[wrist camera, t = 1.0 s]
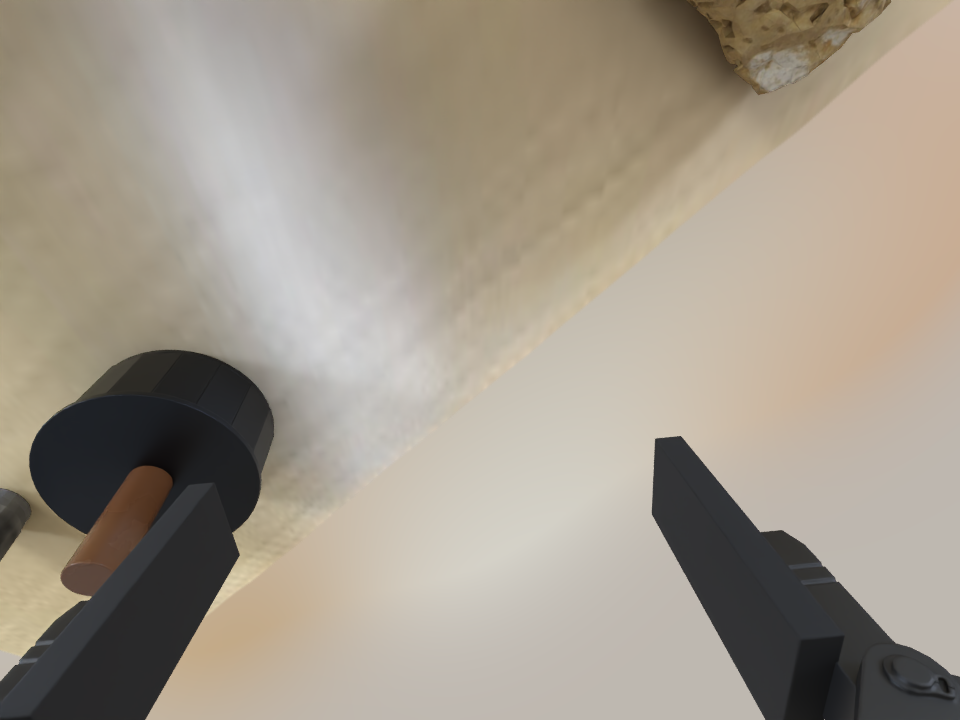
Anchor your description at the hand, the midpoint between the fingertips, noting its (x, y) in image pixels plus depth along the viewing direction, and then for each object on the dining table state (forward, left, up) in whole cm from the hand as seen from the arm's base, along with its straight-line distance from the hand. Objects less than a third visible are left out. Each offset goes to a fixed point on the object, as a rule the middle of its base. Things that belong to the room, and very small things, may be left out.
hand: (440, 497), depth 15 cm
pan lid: (+6, -22, -19) cm, 30 cm away
